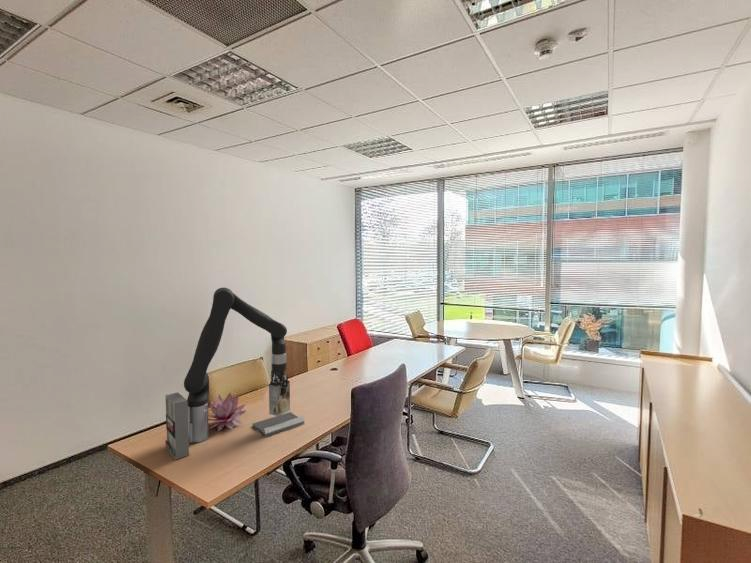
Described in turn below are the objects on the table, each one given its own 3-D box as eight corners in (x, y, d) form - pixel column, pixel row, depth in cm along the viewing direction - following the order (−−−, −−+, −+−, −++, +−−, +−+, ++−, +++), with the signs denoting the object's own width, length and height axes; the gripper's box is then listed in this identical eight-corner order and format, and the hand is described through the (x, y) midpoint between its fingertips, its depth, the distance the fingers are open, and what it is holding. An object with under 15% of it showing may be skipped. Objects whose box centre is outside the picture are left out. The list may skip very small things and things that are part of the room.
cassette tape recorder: (165, 448, 168) (163, 395, 166) (179, 444, 172) (177, 392, 170) (174, 460, 158) (172, 404, 156) (189, 455, 162) (187, 400, 161)
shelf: (265, 437, 179) (265, 429, 179) (252, 426, 190) (252, 418, 190) (304, 423, 194) (304, 416, 193) (290, 414, 205) (290, 407, 205)
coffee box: (281, 407, 196) (280, 378, 195) (290, 410, 193) (290, 380, 192) (268, 414, 188) (268, 383, 187) (278, 416, 185) (277, 385, 184)
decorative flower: (254, 420, 198) (254, 392, 197) (228, 438, 177) (228, 407, 177) (221, 415, 204) (221, 388, 203) (192, 432, 183) (191, 402, 183)
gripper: (292, 363, 186) (292, 394, 187) (279, 357, 196) (279, 387, 197) (278, 366, 181) (279, 398, 182) (266, 359, 191) (266, 390, 192)
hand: (279, 392), depth 190 cm, fingers closed on coffee box, 7 cm apart
